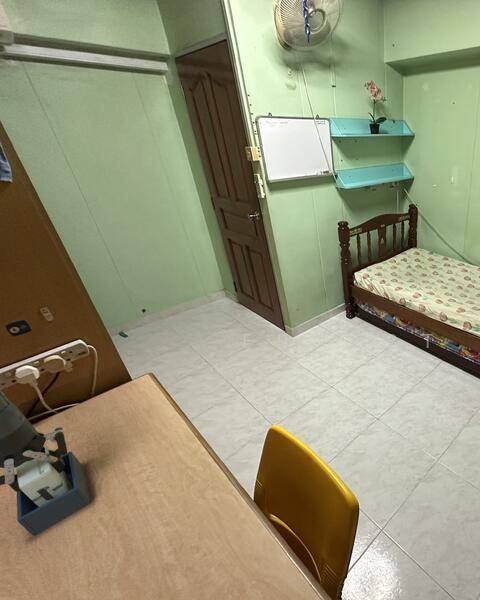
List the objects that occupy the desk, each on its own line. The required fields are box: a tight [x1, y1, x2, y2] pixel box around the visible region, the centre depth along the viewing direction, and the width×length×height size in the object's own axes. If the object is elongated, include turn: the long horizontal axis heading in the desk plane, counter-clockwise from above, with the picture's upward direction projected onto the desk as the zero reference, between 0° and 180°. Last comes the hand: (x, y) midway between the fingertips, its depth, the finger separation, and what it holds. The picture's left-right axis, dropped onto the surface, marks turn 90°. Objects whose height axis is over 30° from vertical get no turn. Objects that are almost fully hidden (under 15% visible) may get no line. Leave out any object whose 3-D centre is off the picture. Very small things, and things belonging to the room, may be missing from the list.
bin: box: [16, 451, 92, 537], centre depth 72 cm, size 9×13×6 cm
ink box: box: [15, 459, 73, 507], centre depth 70 cm, size 8×5×12 cm, turn 51°
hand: (43, 478), depth 69 cm, fingers closed on ink box, 5 cm apart
